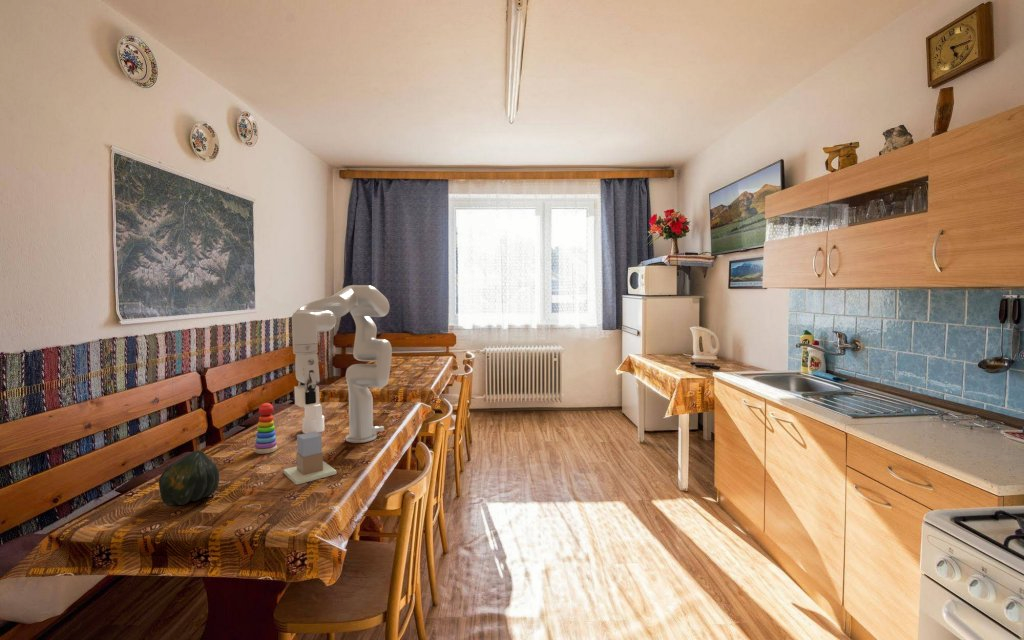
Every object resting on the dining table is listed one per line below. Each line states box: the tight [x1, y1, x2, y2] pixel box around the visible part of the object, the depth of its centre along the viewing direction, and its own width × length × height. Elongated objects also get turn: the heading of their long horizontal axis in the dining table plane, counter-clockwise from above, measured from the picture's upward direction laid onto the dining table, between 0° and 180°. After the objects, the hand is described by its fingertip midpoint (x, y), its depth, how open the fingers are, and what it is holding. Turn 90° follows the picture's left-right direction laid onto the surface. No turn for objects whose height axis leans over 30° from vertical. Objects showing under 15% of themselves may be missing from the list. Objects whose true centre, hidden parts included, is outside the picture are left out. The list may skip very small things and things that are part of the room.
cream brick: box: [293, 385, 320, 408], centre depth 152 cm, size 6×6×6 cm
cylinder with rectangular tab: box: [301, 404, 325, 434], centre depth 202 cm, size 9×9×12 cm
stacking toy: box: [253, 402, 278, 455], centre depth 175 cm, size 8×8×19 cm
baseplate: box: [283, 452, 337, 486], centre depth 154 cm, size 13×13×7 cm
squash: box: [158, 449, 220, 507], centre depth 135 cm, size 14×15×15 cm
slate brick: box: [296, 432, 323, 457], centre depth 154 cm, size 6×6×6 cm
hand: (307, 401), depth 152 cm, fingers closed on cream brick, 6 cm apart
